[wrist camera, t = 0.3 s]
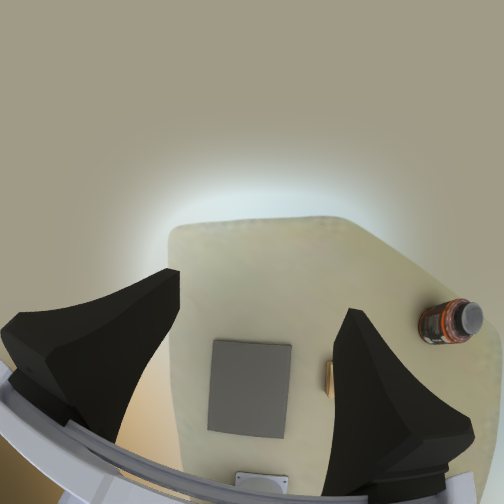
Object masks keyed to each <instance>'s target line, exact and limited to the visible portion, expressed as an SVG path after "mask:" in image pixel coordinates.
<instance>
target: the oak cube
mask: <svg viewBox="0 0 504 504" xmlns="http://www.w3.org/2000/svg"><path fill="white" fill-rule="evenodd" d="M325 393H326V394H327V396H328V398H335V396H334V380H333V362H327V371H326V383H325Z"/></svg>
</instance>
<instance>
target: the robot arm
mask: <svg viewBox="0 0 504 504" xmlns="http://www.w3.org/2000/svg"><path fill="white" fill-rule="evenodd" d="M179 310H180V271H177V270H173V269H169V268H166V269H163V270H161V271H159V272H157V273H155V274H153V275H151V276H149V277H147V278H145V279H143V280H141V281H139V282H137V283H135V284H133V285H131V286H128V287H126V288H124V289H121V290H119V291H117V292H115V293H112V294H110V295H107V296H105V297H102V298H99V299H96V300H93V301H90V302H87V303H83V304H79V305H75V306H71V307H67V308H61V309H56V310H49V311H38V312H19V313H18V314H17V315H16V316H15V317H14V318H13V319H12V320H10V321H9V322H8V323H7V324H6V325H5V326H4V327H3V328H2V329H1V332H0V333H1V338H2V341H3V344H4V346H5V348H6V349H7V351H8V353H9V355H10V356H11V358H12V360H13V362H14V363H15V365H16V367H17V369H16V370H15V371H14V372H13V371H12V370H11V369H10V368H9V366H7V365H6V364H5V363H4V362H3V361H2V360H1V359H0V434H1V435H2V436H3V437H4V438H5V439H6V440H7V441H8V442H9V443H10V444H11V445H12V446H13V447H14V448H15V449H16V450H17V451H18V452H19V453H21V454H22V455H23V456H24V457H25V458H26V459H27V460H28V461H29V462H31V463H32V464H33V465H34V466H35V467H36V468H38V469H39V470H40V471H41V472H42V473H44V474H45V475H46V476H47V477H49V478H50V479H51V480H53V481H54V482H55V483H57V484H58V485H59V486H61V487H62V488H64V489H65V491H64V493H63V495H62V497H61V498H60V501H59V502H58V504H198V503H194V502H191V501H187V500H184V499H181V498H178V497H175V496H172V495H169V494H166V493H163V492H160V491H158V490H155V489H152V488H150V487H147V486H145V485H143V484H140V483H138V482H135V481H133V480H131V479H128V478H126V477H124V476H123V475H122V474H121V473H120V471H119V469H117V468H115V467H114V466H116V467H118V468H120V469H122V470H124V471H126V472H128V473H131V474H133V475H135V476H137V477H139V478H142V479H144V480H147V481H149V482H152V483H154V484H157V485H159V486H162V487H164V488H167V489H171V490H173V491H176V492H179V493H182V494H186V495H188V496H192V497H195V498H198V499H202V500H206V501H210V502H214V503H218V504H477V500H476V492H475V485H474V478H473V472H472V471H468V472H465V473H461V474H458V475H454V476H451V477H449V478H447V479H445V474H444V473H446V472H448V470H449V466H448V462H450V461H451V460H453V459H454V458H456V457H457V456H458V455H460V454H461V453H462V452H464V451H465V450H466V449H467V448H468V447H469V446H470V445H471V444H472V443H473V441H474V439H475V435H474V431H473V428H472V424H471V420H470V418H469V417H467V416H465V415H463V414H462V413H460V412H458V411H457V410H455V409H453V408H452V407H450V406H449V405H448V404H446V403H445V402H443V401H442V400H441V399H439V398H438V397H437V396H436V395H434V394H433V393H432V392H431V391H429V390H428V389H427V388H426V387H425V386H424V385H423V384H422V383H420V382H419V381H418V380H417V379H416V378H415V377H414V376H413V375H412V373H411V372H410V371H409V370H408V369H407V368H406V367H405V366H404V365H403V364H402V363H401V361H400V360H399V359H398V358H397V357H396V355H395V354H394V353H393V352H392V350H391V349H390V348H389V346H388V345H387V344H386V342H385V341H384V340H383V338H382V337H381V335H380V334H379V333H378V331H377V330H376V328H375V327H374V326H373V324H372V323H371V321H370V320H369V318H368V317H367V316H366V314H365V313H364V312H363V311H362V310H357V309H352V308H349V309H348V312H347V314H346V316H345V319H344V321H343V323H342V326H341V328H340V330H339V333H338V335H337V337H336V339H335V341H334V346H333V380H334V396H335V421H334V432H333V440H332V448H331V454H330V460H329V465H328V470H327V475H326V479H325V483H324V487H323V491H322V494H321V496H303V495H291V494H286V492H287V486H288V477H287V476H275V475H262V474H252V473H244V472H237V473H236V480H235V486H233V485H228V484H224V483H219V482H215V481H212V480H208V479H204V478H201V477H197V476H194V475H190V474H187V473H184V472H181V471H178V470H175V469H172V468H169V467H167V466H164V465H161V464H159V463H156V462H153V461H151V460H148V459H146V458H143V457H141V456H139V455H137V454H134V453H132V452H130V451H128V450H126V449H123V448H121V447H119V446H117V445H115V442H116V438H117V435H118V432H119V429H120V426H121V423H122V420H123V417H124V414H125V412H126V409H127V407H128V404H129V402H130V399H131V397H132V395H133V392H134V390H135V388H136V386H137V383H138V381H139V379H140V377H141V375H142V373H143V371H144V369H145V367H146V366H147V364H148V362H149V361H150V359H151V358H152V356H153V354H154V353H155V351H156V350H157V348H158V347H159V345H160V344H161V342H162V341H163V339H164V338H165V336H166V335H167V333H168V332H169V330H170V328H171V327H172V325H173V323H174V321H175V318H176V316H177V314H178V312H179ZM107 462H108V463H107ZM109 463H110V464H112V465H114V466H112V465H110V464H109ZM238 476H239V477H241V478H238ZM283 481H286V482H283Z"/></svg>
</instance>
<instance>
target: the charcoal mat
mask: <svg viewBox="0 0 504 504" xmlns="http://www.w3.org/2000/svg"><path fill="white" fill-rule="evenodd" d="M291 348H292V346H291V345H270V344H255V343H242V342H230V341H220V340H214V341H213V353H212V367H211V381H210V396H209V412H208V430H211V431H217V432H224V433H230V434H238V435H246V436H255V437H266V438H280V439H284V430H285V420H286V410H287V399H288V388H289V376H290V363H291Z"/></svg>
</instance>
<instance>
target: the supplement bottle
mask: <svg viewBox="0 0 504 504" xmlns="http://www.w3.org/2000/svg"><path fill="white" fill-rule="evenodd" d="M482 324H483V312H482V309H481V307H480V306H479V305H478V304H477V303H474V302H472V303H471V302H470V301H468V300H466V299H456V300H452V301H449V302H446V303H443V304H440V305H437V306H434V307H431V308H429V309H427V310H426V311H425V312H424V313H423V315H422V316H421V319H420V322H419V331H420V335H421V337H422V338H423V340H424V341H425V342H427V343H429V344H434V345H435V344H456V343H463V342H466V341H467V340H469V339H470V338H471V337H472V335H473V334H476V333H477V332H478V331H479V330H480V329H481V327H482Z"/></svg>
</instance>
